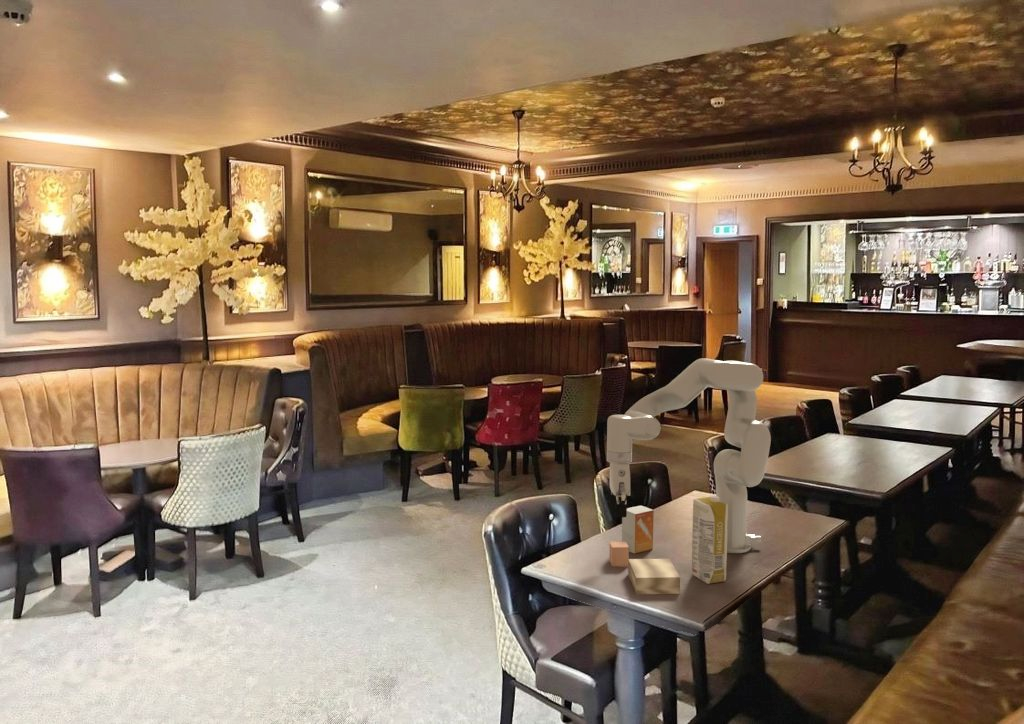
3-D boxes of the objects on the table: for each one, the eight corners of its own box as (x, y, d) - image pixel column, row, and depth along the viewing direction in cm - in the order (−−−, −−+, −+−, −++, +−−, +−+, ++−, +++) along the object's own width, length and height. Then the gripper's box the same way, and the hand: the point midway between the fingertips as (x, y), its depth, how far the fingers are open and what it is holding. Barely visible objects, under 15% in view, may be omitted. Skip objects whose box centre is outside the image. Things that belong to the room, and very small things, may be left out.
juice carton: (730, 582, 215) (732, 499, 213) (706, 586, 213) (708, 502, 210) (710, 570, 224) (712, 491, 222) (687, 574, 221) (689, 494, 219)
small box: (634, 554, 238) (635, 514, 236) (621, 548, 243) (621, 509, 242) (653, 549, 242) (654, 509, 241) (639, 543, 248) (640, 504, 246)
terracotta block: (625, 560, 233) (625, 541, 232) (628, 566, 228) (628, 547, 228) (609, 560, 233) (609, 541, 232) (612, 566, 228) (612, 547, 227)
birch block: (669, 575, 222) (669, 558, 221) (679, 594, 208) (680, 577, 207) (628, 575, 222) (628, 559, 221) (636, 595, 208) (636, 577, 207)
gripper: (637, 463, 219) (636, 520, 220) (626, 450, 236) (625, 503, 237) (611, 463, 218) (610, 521, 220) (602, 450, 235) (601, 503, 237)
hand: (618, 512), depth 229 cm, fingers open, 9 cm apart
